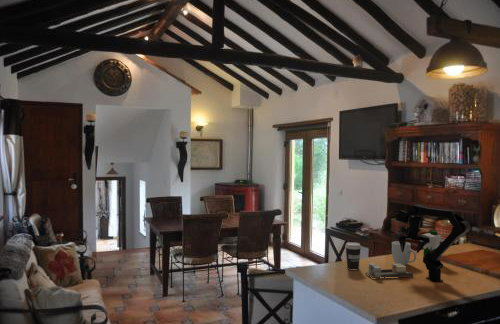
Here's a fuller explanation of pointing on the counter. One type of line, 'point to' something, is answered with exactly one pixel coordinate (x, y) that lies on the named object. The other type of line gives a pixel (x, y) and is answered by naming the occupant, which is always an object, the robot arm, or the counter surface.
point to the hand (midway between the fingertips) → (409, 252)
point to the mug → (402, 253)
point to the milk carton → (431, 242)
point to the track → (384, 272)
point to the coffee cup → (353, 255)
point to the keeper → (398, 268)
